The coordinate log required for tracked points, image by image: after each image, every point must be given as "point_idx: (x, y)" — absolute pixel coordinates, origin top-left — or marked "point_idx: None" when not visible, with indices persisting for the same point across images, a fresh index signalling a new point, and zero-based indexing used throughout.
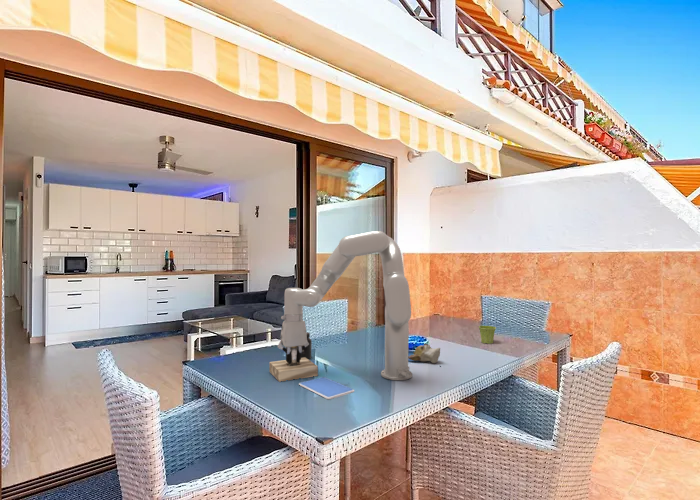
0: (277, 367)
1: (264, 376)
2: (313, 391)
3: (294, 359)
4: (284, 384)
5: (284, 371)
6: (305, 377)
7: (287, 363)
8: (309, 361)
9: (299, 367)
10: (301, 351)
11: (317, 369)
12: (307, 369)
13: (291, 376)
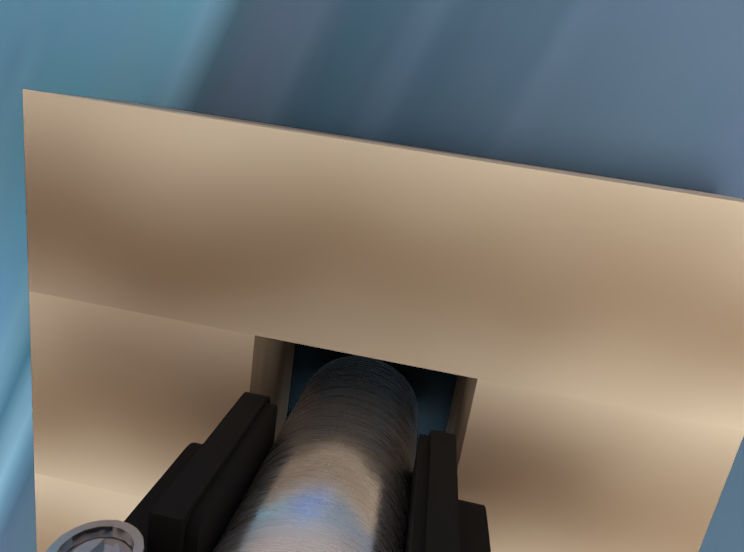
0: (689, 458)
1: (740, 512)
2: None
3: (337, 454)
4: (725, 41)
5: (706, 196)
6: (309, 130)
7: None
8: (55, 409)
9: (349, 216)
10: (71, 546)
11: (70, 95)
12: (237, 122)
13: (534, 166)
